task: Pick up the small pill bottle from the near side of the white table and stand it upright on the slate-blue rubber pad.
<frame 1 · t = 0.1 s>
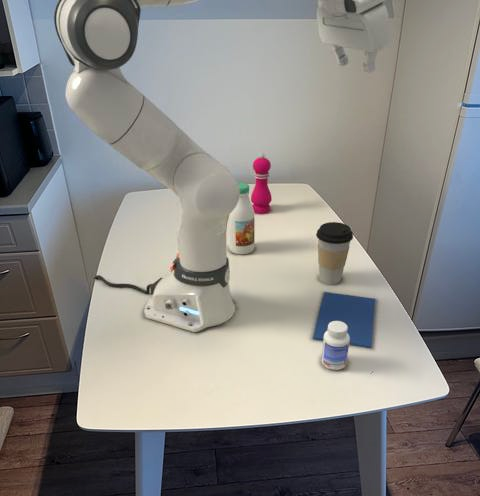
hand: (356, 67, 105), 52 cm above the table, tool tilted 20°, fingers open, 8 cm apart
blue pad: (345, 318, 119), on the table
coffee cup: (329, 279, 134), on the table
milk bottle: (241, 249, 149), on the table
pill bottle: (333, 363, 106), on the table
pepper mill: (261, 210, 173), on the table
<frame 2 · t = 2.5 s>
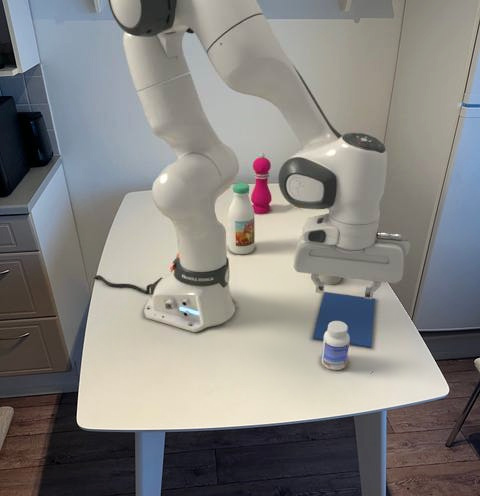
hand: (343, 294, 96), 17 cm above the table, tool pointing down, fingers open, 8 cm apart
nothing on the table moved.
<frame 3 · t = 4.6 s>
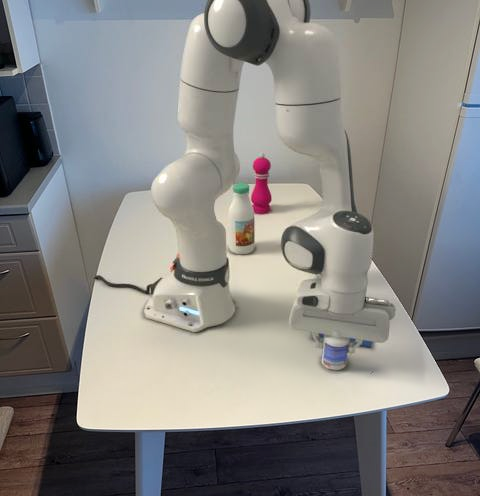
hand: (335, 349, 104), 4 cm above the table, tool pointing down, fingers closed on pill bottle, 5 cm apart
pill bottle: (333, 363, 106), on the table, touching gripper
everything else where it was.
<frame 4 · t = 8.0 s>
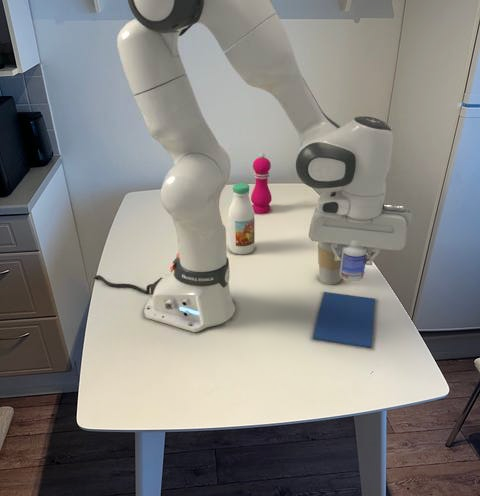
hand: (352, 261, 108), 17 cm above the table, tool pointing down, fingers closed on pill bottle, 5 cm apart
pill bottle: (350, 276, 110), point 13 cm above the table, touching gripper
everything else where it was.
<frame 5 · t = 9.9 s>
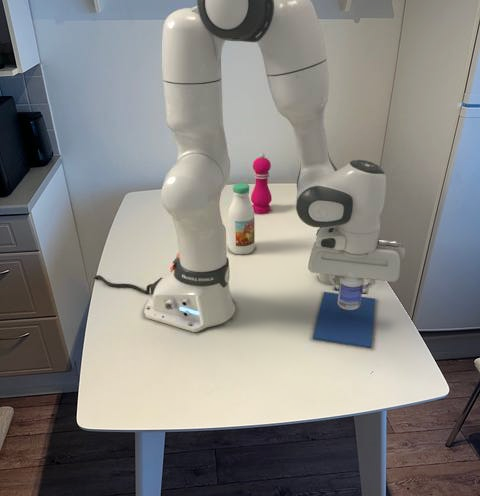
hand: (350, 291, 114), 8 cm above the table, tool pointing down, fingers closed on pill bottle, 5 cm apart
pill bottle: (348, 304, 116), point 4 cm above the table, touching gripper
everything else where it was.
when the fingers open (4 cm above the table, at t = 11.4 s): pill bottle stays where it is, resting on blue pad.
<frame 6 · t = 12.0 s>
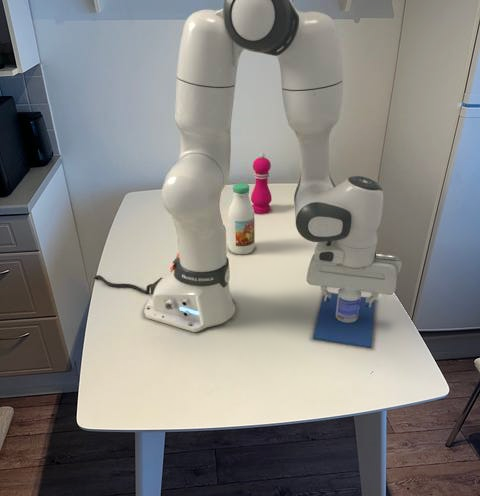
hand: (347, 303, 116), 5 cm above the table, tool pointing down, fingers open, 8 cm apart
pill bottle: (346, 317, 119), resting on blue pad
everything else where it was.
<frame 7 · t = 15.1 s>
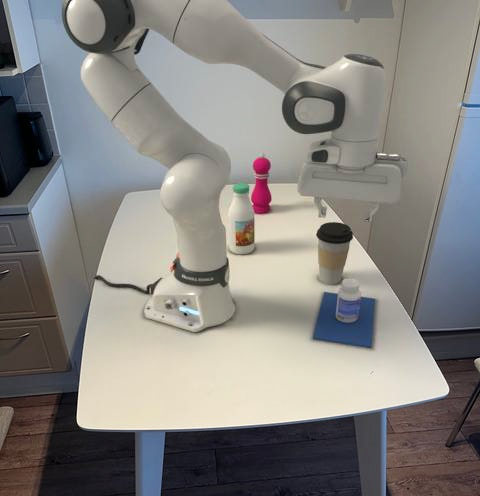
hand: (344, 218, 101), 27 cm above the table, tool pointing down, fingers open, 8 cm apart
nothing on the table moved.
at the end: pill bottle inside the target area on the blue pad (0.1 cm from its centre), point 0.4 cm above the blue pad's base; pill bottle tilted 0°; the gripper is holding nothing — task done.
